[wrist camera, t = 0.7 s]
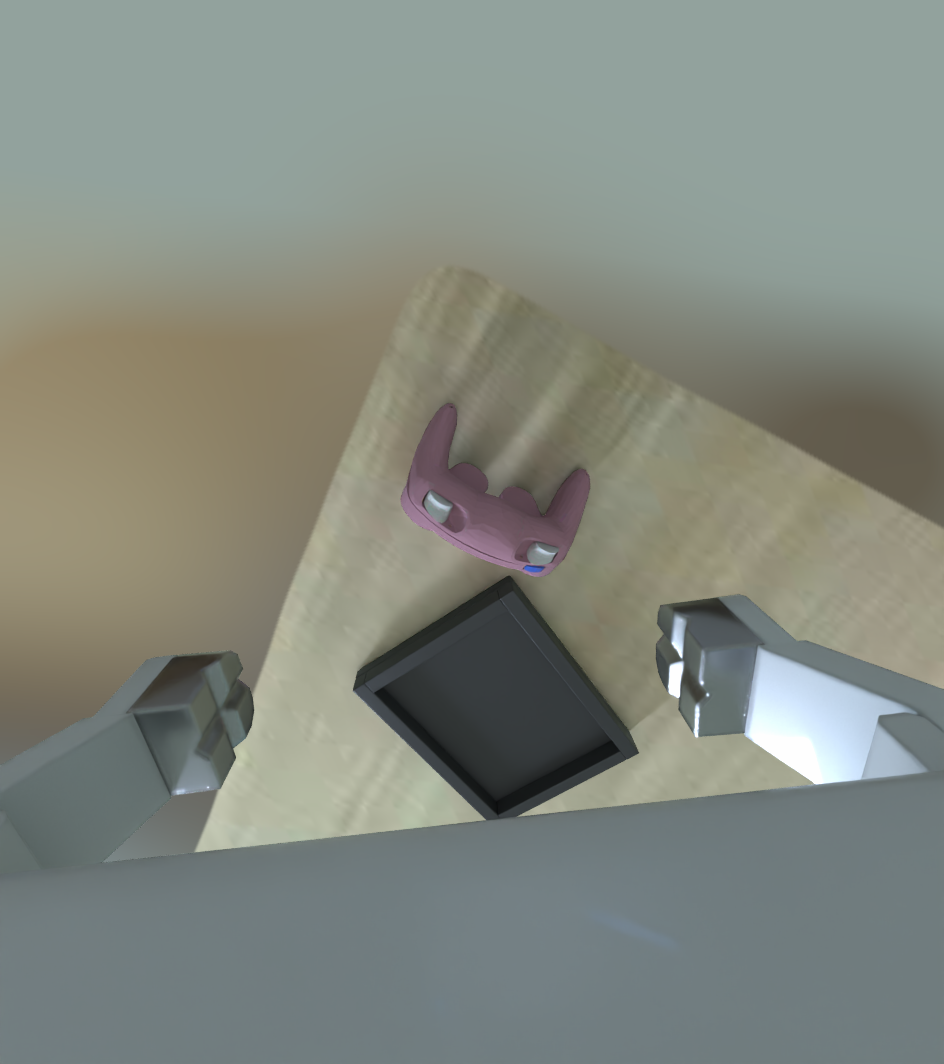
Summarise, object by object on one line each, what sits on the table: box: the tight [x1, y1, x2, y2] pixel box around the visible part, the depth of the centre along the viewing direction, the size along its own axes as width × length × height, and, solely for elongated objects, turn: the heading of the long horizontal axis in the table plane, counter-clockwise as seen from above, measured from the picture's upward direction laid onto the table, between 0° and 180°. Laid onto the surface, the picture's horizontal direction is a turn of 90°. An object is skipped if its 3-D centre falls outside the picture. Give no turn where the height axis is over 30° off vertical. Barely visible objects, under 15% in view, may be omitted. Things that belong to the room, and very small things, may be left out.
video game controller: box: [401, 403, 590, 577], centre depth 26 cm, size 10×5×7 cm, turn 64°
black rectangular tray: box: [353, 576, 639, 820], centre depth 34 cm, size 12×16×2 cm
